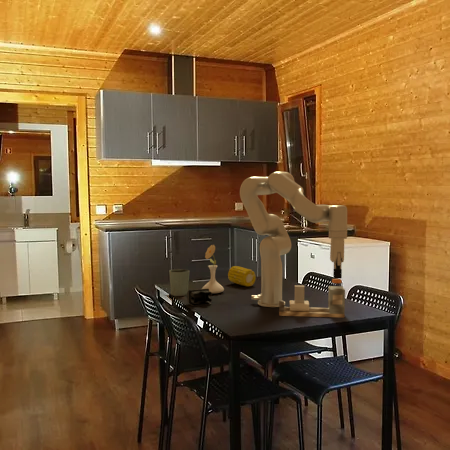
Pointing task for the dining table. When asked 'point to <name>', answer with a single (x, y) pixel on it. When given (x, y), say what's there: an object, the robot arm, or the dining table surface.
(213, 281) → the flower in vase
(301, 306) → the carriage
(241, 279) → the food
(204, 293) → the end cap
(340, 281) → the button
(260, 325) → the dining table surface
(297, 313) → the rail base
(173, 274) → the green tapered cup
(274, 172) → the robot arm
